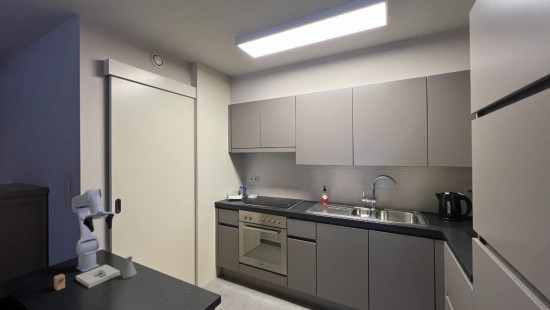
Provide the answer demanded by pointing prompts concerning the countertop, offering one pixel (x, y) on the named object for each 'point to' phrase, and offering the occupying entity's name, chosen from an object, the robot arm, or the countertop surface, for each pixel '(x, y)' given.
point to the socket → (91, 281)
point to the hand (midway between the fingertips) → (101, 229)
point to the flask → (129, 269)
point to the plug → (59, 282)
